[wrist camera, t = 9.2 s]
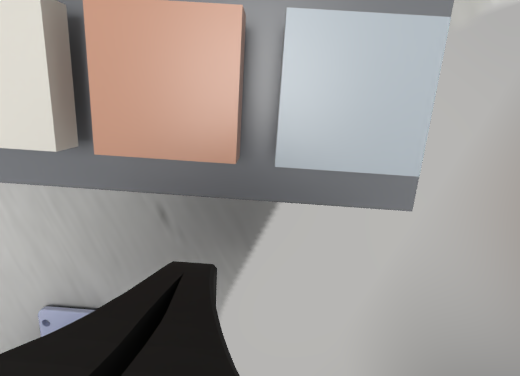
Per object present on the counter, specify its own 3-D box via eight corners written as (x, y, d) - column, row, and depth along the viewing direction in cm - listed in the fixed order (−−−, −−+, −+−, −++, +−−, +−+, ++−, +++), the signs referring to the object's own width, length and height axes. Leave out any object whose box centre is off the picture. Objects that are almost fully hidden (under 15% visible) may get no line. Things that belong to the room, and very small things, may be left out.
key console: (390, 193, 18) (412, 211, 16) (7, 167, 19) (-40, 179, 16) (424, -5, 16) (459, -28, 13) (-22, -31, 16) (-86, -59, 13)
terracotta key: (245, 147, 17) (235, 164, 12) (139, 140, 17) (94, 154, 13) (250, 30, 15) (242, 5, 11) (134, 23, 15) (82, -5, 11)
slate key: (381, 156, 17) (419, 176, 12) (274, 149, 17) (274, 166, 12) (400, 39, 15) (451, 16, 11) (282, 32, 15) (286, 7, 11)
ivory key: (110, 138, 17) (56, 151, 13) (6, 131, 17) (-83, 142, 13) (103, 22, 15) (39, -7, 11) (-11, 15, 16) (-118, -17, 11)
